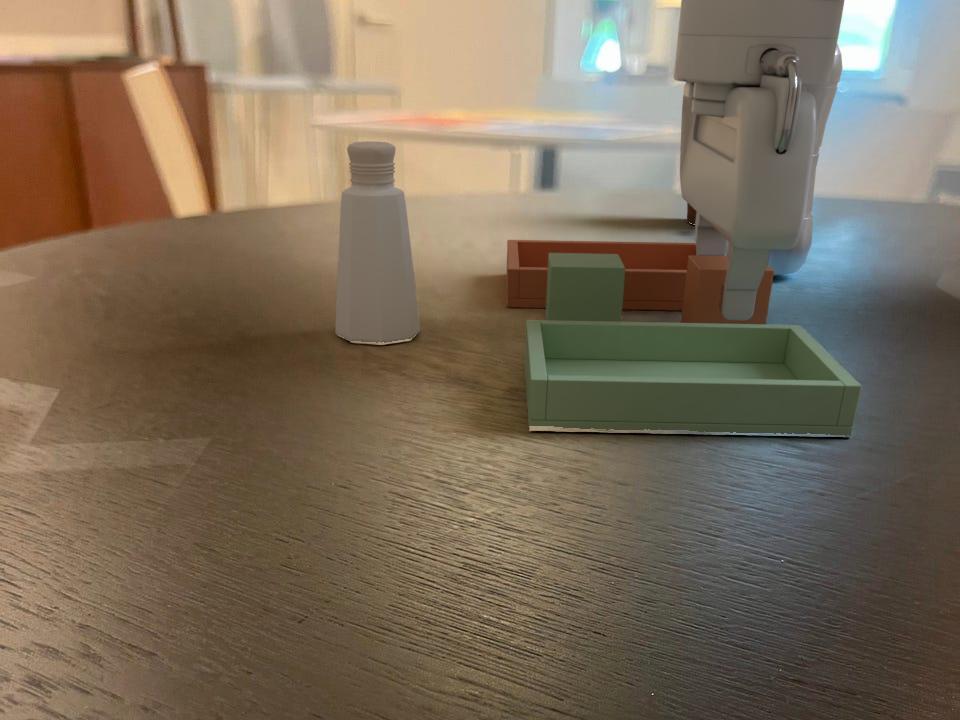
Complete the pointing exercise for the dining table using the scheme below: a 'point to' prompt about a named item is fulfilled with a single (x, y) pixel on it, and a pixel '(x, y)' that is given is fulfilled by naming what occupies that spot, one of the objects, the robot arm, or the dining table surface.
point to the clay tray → (648, 265)
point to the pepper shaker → (375, 252)
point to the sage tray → (685, 378)
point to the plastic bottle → (798, 254)
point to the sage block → (584, 287)
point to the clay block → (717, 292)
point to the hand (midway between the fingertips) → (720, 299)
